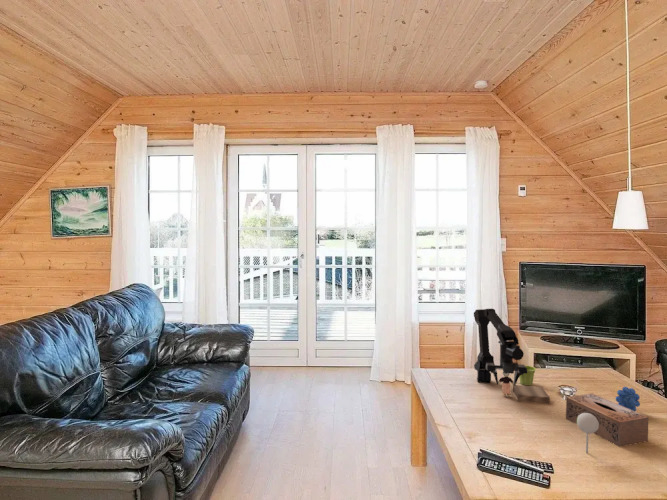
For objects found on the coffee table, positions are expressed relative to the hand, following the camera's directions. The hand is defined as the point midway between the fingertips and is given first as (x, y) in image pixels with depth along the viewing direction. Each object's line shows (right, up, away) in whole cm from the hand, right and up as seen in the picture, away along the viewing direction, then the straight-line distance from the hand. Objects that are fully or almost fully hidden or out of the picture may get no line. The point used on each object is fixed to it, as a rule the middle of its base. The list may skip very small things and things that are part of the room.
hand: (505, 384), depth 214 cm
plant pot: (+18, -5, +18) cm, 26 cm away
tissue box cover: (+27, -8, -35) cm, 45 cm away
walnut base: (+12, -6, 0) cm, 14 cm away
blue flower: (+48, -7, -20) cm, 52 cm away
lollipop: (+9, -9, -54) cm, 55 cm away
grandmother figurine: (0, -5, 0) cm, 5 cm away
